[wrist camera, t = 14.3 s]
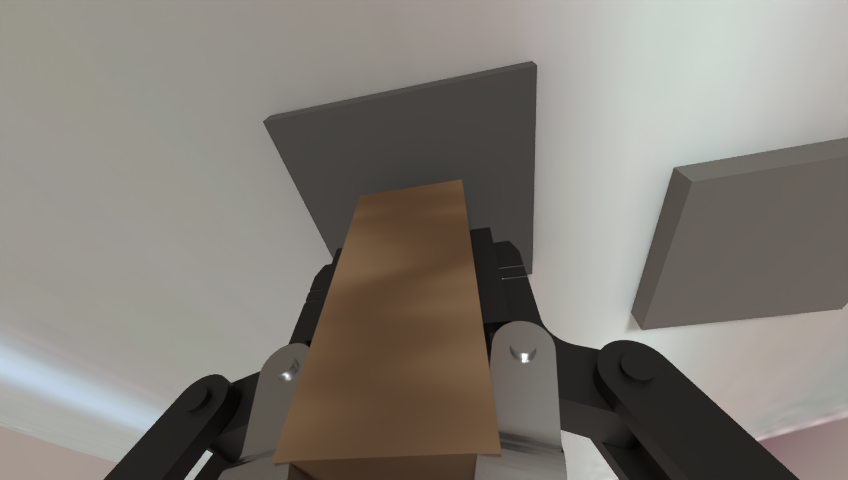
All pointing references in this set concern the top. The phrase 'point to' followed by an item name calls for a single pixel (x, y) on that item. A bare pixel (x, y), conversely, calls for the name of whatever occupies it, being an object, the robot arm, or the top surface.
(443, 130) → the mat
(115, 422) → the top surface
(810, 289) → the tile
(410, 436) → the block
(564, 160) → the top surface
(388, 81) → the top surface
